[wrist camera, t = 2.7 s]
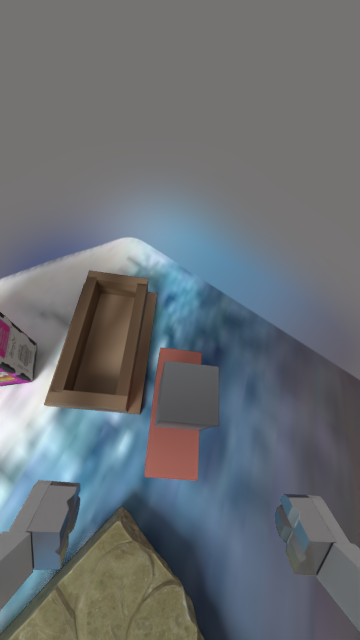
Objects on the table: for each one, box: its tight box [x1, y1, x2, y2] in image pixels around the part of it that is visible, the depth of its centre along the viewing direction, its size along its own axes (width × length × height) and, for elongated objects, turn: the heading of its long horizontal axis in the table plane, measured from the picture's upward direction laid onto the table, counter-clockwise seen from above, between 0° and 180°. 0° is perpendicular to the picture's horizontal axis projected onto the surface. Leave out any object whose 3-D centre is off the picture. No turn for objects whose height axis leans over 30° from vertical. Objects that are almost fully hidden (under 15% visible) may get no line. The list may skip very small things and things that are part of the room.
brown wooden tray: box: [44, 271, 157, 414], centre depth 27 cm, size 10×16×4 cm, turn 176°
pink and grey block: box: [145, 348, 219, 481], centre depth 19 cm, size 4×9×16 cm, turn 176°
